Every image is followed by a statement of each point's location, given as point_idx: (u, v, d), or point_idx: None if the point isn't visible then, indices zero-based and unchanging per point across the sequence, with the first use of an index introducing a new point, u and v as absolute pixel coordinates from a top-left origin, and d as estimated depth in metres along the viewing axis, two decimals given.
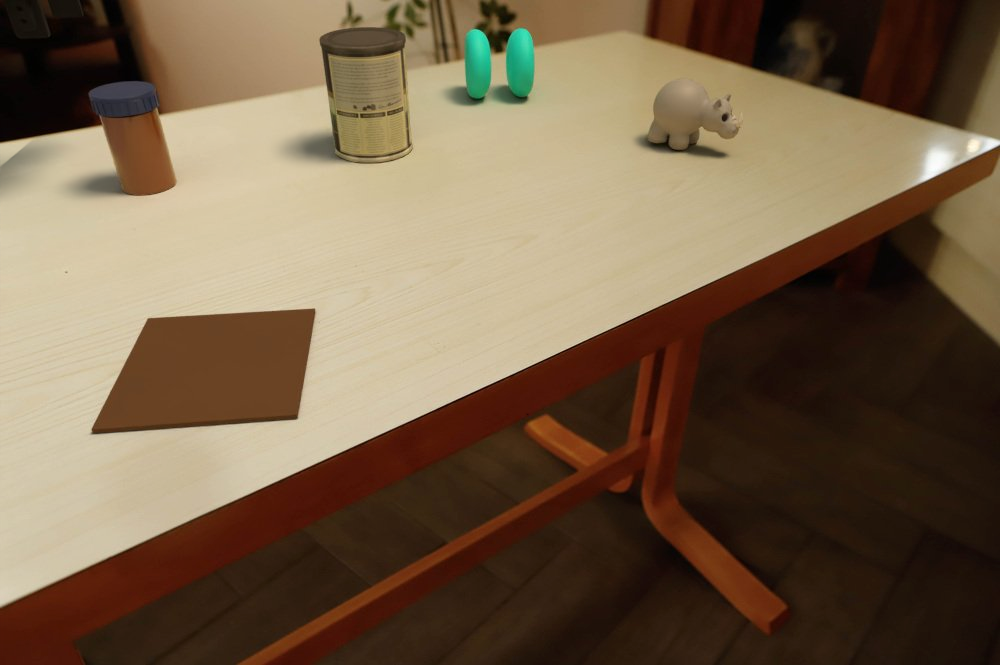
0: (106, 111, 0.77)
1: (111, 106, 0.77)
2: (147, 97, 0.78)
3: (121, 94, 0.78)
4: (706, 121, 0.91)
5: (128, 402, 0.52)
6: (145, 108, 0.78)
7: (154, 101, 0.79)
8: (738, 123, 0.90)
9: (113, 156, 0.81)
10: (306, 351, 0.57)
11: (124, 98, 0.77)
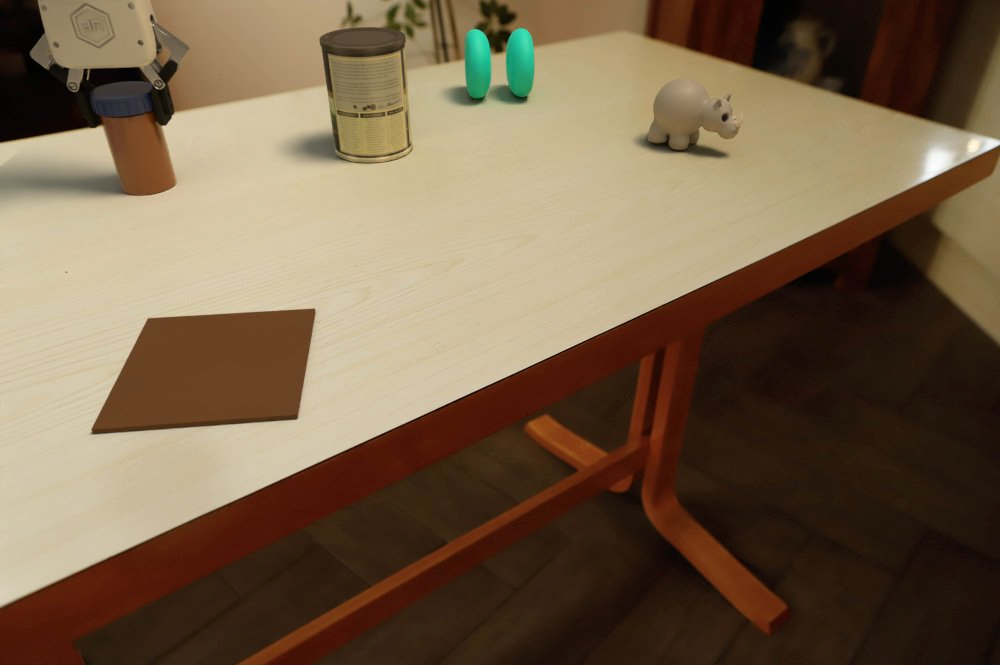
0: (106, 111, 0.77)
1: (111, 106, 0.77)
2: (147, 97, 0.78)
3: (121, 94, 0.78)
4: (706, 121, 0.91)
5: (128, 402, 0.52)
6: (145, 108, 0.78)
7: None
8: (738, 123, 0.90)
9: (113, 156, 0.81)
10: (306, 351, 0.57)
11: (124, 98, 0.77)
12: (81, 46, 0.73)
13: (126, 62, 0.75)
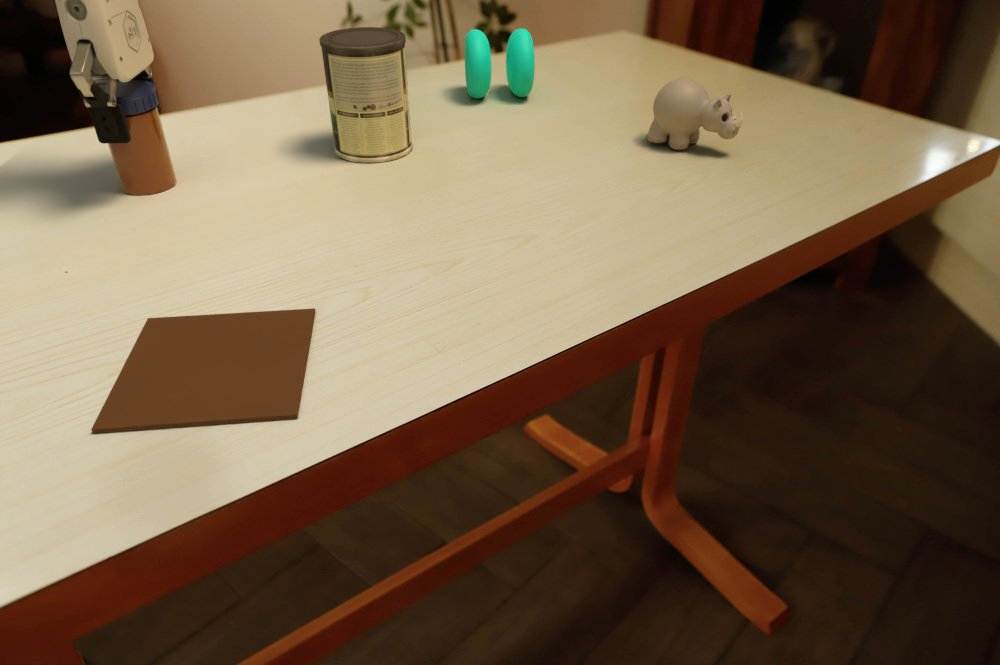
0: (155, 100, 0.80)
1: None
2: None
3: (139, 85, 0.80)
4: (706, 121, 0.91)
5: (128, 402, 0.52)
6: None
7: None
8: (738, 123, 0.90)
9: (113, 156, 0.81)
10: (306, 351, 0.57)
11: (152, 83, 0.81)
12: (131, 55, 0.75)
13: (148, 62, 0.80)
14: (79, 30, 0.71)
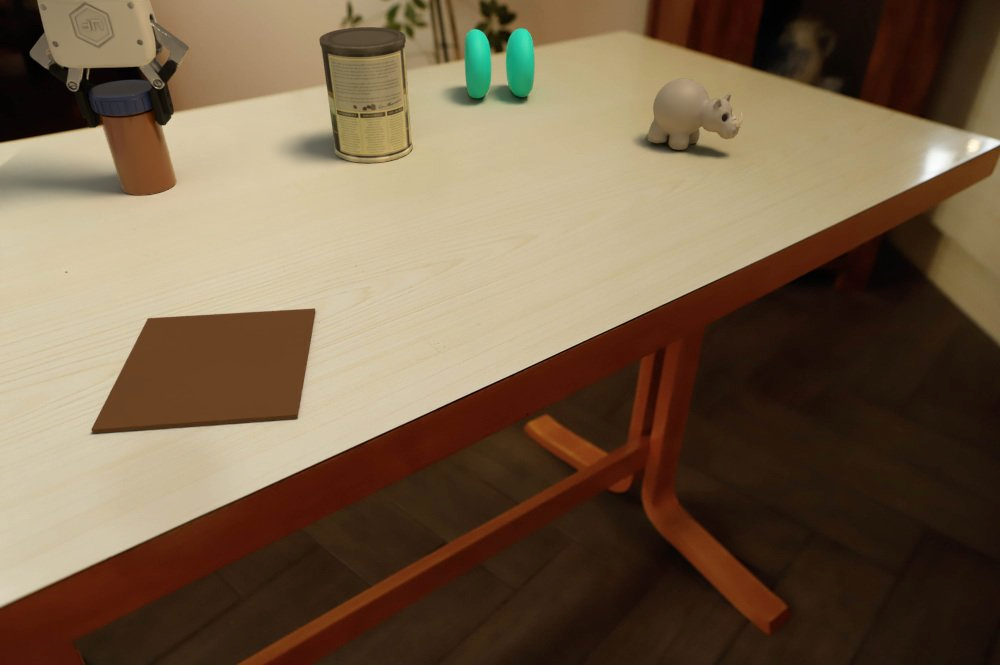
0: None
1: None
2: None
3: (138, 85, 0.80)
4: (706, 121, 0.91)
5: (128, 402, 0.52)
6: None
7: None
8: (738, 123, 0.90)
9: (113, 156, 0.81)
10: (306, 351, 0.57)
11: None
12: (80, 45, 0.73)
13: (125, 62, 0.75)
14: None
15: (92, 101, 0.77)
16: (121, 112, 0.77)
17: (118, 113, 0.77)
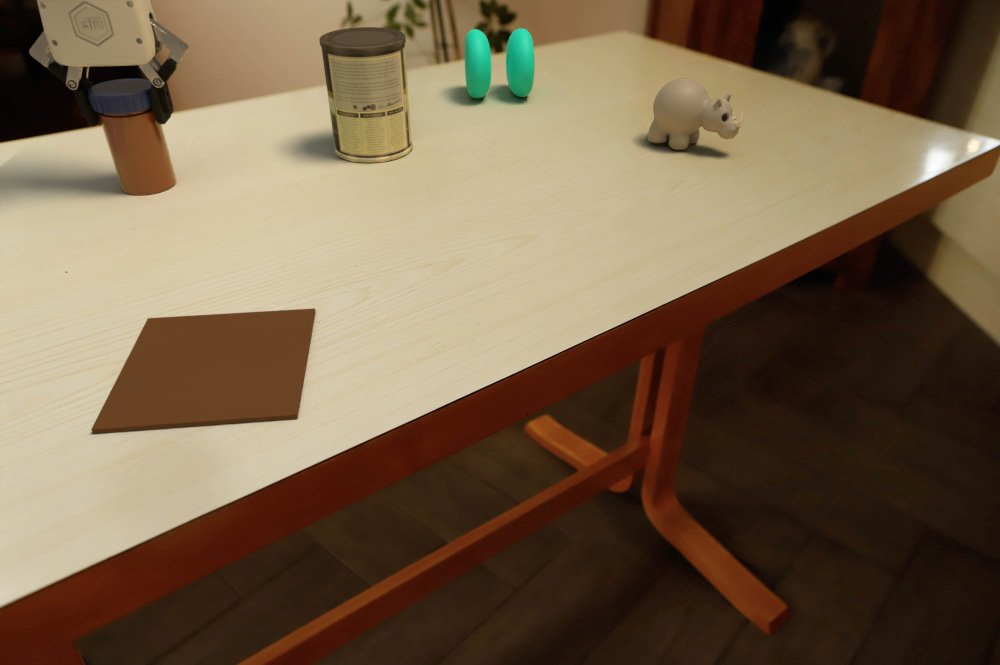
0: None
1: None
2: None
3: (113, 83, 0.80)
4: (706, 121, 0.91)
5: (128, 402, 0.52)
6: None
7: (91, 101, 0.78)
8: (738, 123, 0.90)
9: (113, 156, 0.81)
10: (306, 351, 0.57)
11: (104, 82, 0.80)
12: (80, 44, 0.73)
13: (125, 60, 0.75)
14: None
15: (143, 97, 0.78)
16: None
17: None
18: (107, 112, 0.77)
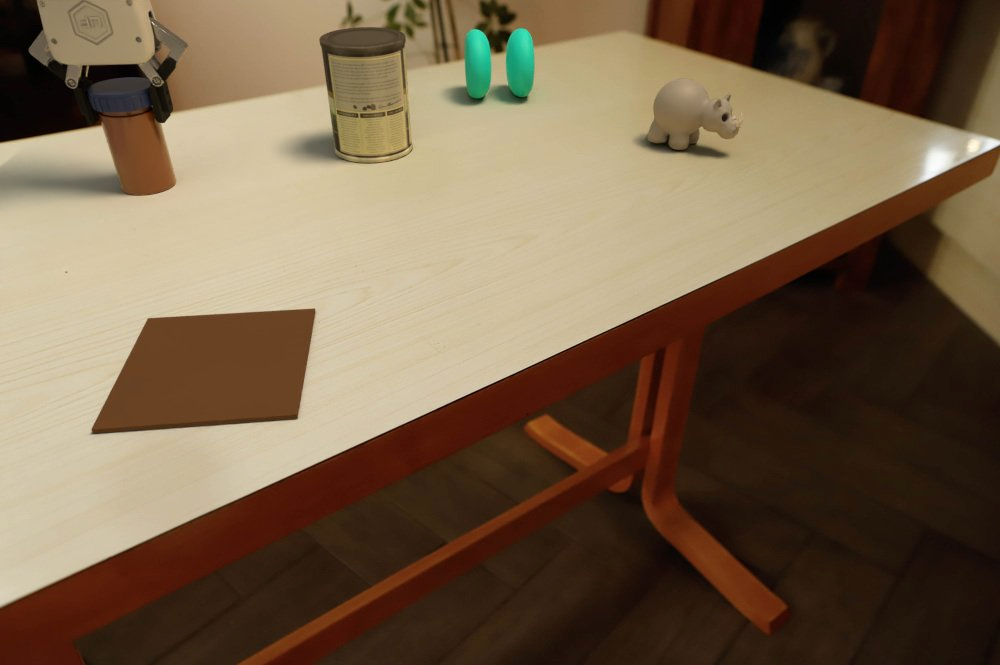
0: (91, 102, 0.78)
1: (90, 99, 0.77)
2: (120, 99, 0.76)
3: (106, 90, 0.77)
4: (706, 121, 0.91)
5: (128, 402, 0.52)
6: (116, 108, 0.77)
7: (132, 104, 0.77)
8: (738, 123, 0.90)
9: (113, 156, 0.81)
10: (306, 351, 0.57)
11: (96, 94, 0.76)
12: (79, 43, 0.73)
13: (124, 59, 0.75)
14: None
15: None
16: None
17: None
18: None
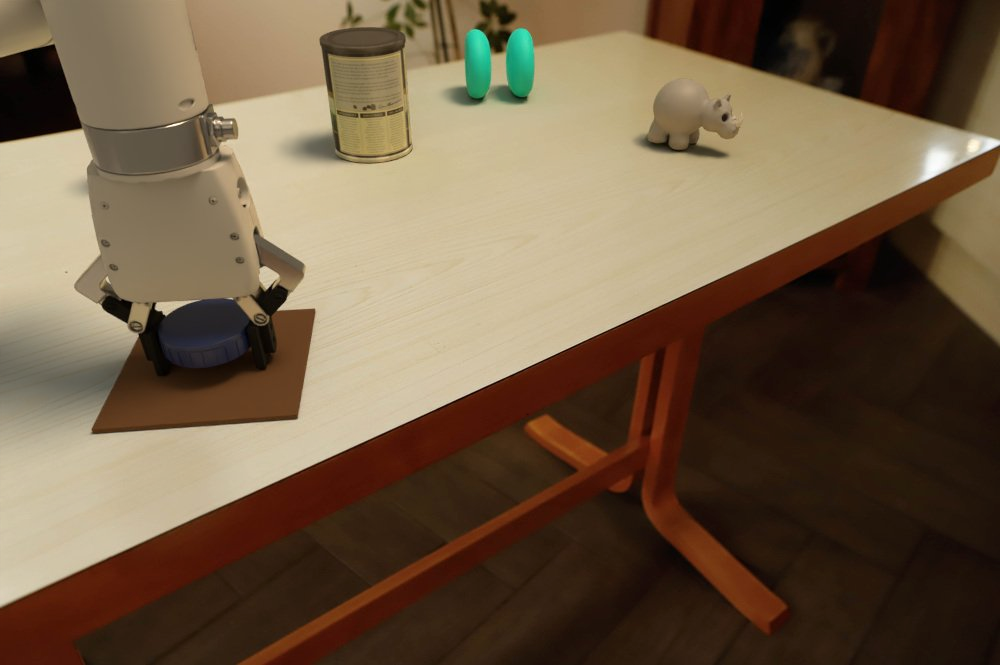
0: None
1: None
2: None
3: (222, 309, 0.55)
4: (706, 121, 0.91)
5: (128, 402, 0.52)
6: None
7: None
8: (738, 123, 0.90)
9: None
10: (306, 351, 0.57)
11: None
12: None
13: None
14: (251, 219, 0.50)
15: (181, 354, 0.52)
16: (230, 357, 0.53)
17: (227, 360, 0.53)
18: None
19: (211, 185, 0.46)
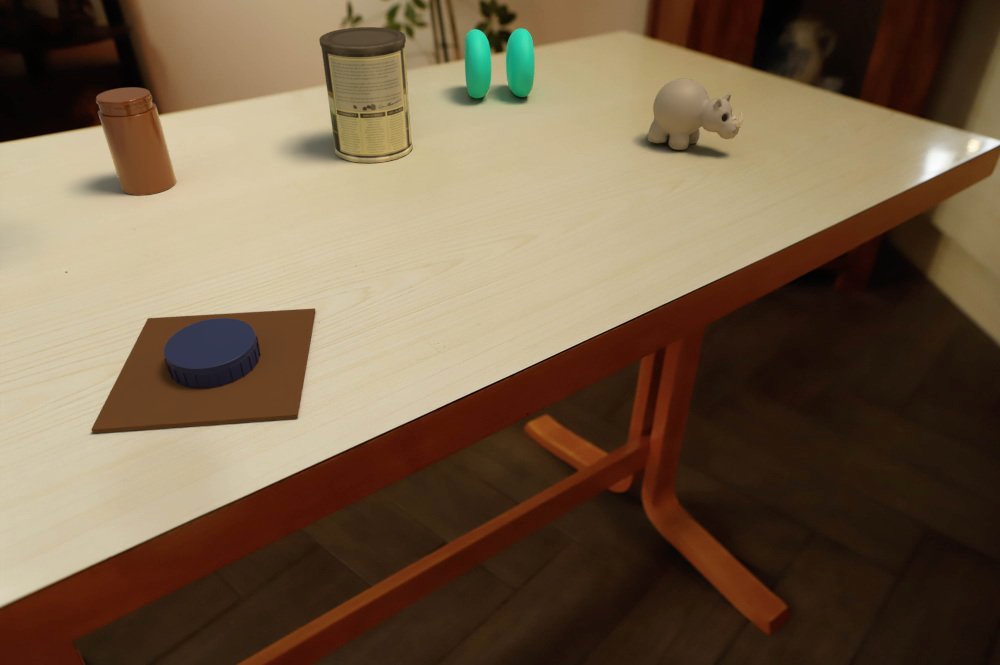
0: None
1: None
2: None
3: (227, 330, 0.57)
4: (706, 121, 0.91)
5: (128, 402, 0.52)
6: None
7: None
8: (738, 123, 0.90)
9: (113, 156, 0.81)
10: (306, 351, 0.57)
11: None
12: None
13: None
14: None
15: (186, 375, 0.53)
16: (235, 377, 0.54)
17: (231, 380, 0.54)
18: None
19: None
